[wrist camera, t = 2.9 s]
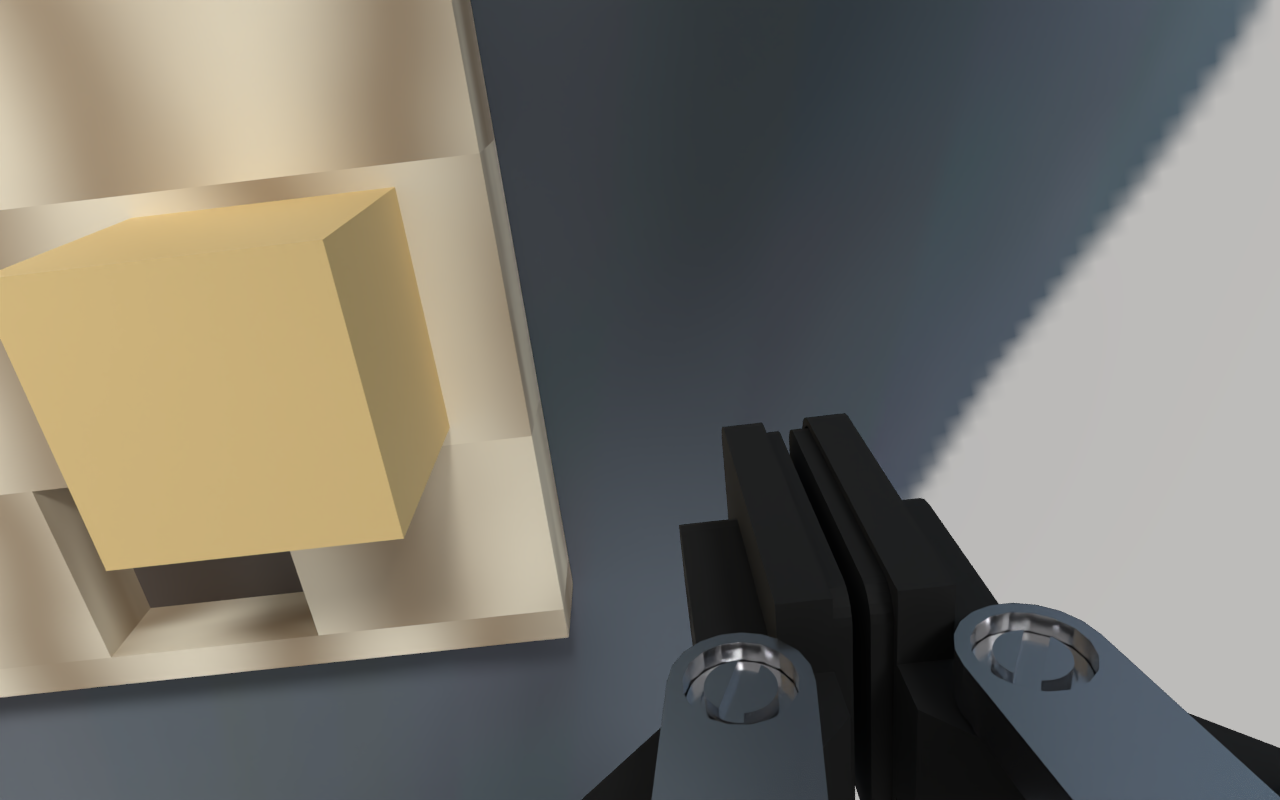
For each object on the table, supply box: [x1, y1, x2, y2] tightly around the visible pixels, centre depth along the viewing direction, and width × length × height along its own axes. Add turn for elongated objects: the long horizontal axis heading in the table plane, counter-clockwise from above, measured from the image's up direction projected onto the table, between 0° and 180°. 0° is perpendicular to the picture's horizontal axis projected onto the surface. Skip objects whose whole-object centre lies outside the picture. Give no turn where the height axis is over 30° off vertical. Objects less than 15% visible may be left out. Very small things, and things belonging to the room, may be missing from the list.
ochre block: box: [0, 187, 450, 571], centre depth 18 cm, size 6×6×5 cm
